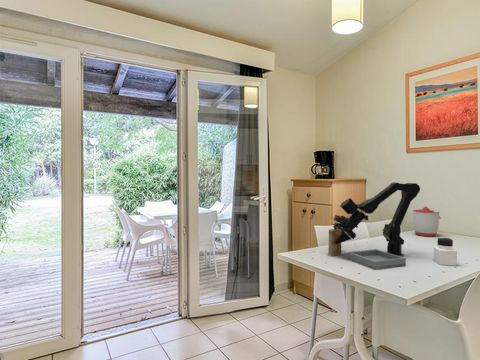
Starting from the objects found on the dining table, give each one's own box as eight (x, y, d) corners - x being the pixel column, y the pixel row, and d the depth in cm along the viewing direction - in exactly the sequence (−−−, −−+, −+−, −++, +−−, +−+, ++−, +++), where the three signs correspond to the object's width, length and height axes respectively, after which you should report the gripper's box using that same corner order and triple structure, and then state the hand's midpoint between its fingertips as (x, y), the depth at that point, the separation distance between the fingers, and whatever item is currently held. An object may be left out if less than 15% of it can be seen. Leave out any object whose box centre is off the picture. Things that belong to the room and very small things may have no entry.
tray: (376, 255, 159) (376, 249, 159) (405, 265, 142) (405, 258, 142) (347, 259, 153) (347, 252, 153) (374, 269, 136) (374, 261, 136)
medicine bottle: (456, 265, 142) (457, 240, 142) (439, 265, 143) (440, 239, 143) (449, 261, 149) (449, 237, 148) (433, 260, 150) (433, 236, 150)
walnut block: (337, 253, 164) (338, 229, 163) (341, 255, 159) (341, 230, 158) (328, 253, 163) (328, 229, 163) (331, 256, 158) (331, 230, 158)
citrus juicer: (446, 237, 204) (447, 207, 204) (420, 237, 205) (421, 207, 204) (432, 233, 220) (432, 205, 219) (408, 233, 220) (408, 205, 220)
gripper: (337, 207, 170) (317, 227, 170) (350, 211, 151) (327, 234, 151) (351, 221, 170) (331, 241, 170) (365, 227, 152) (343, 250, 152)
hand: (332, 241), depth 161 cm, fingers open, 9 cm apart
